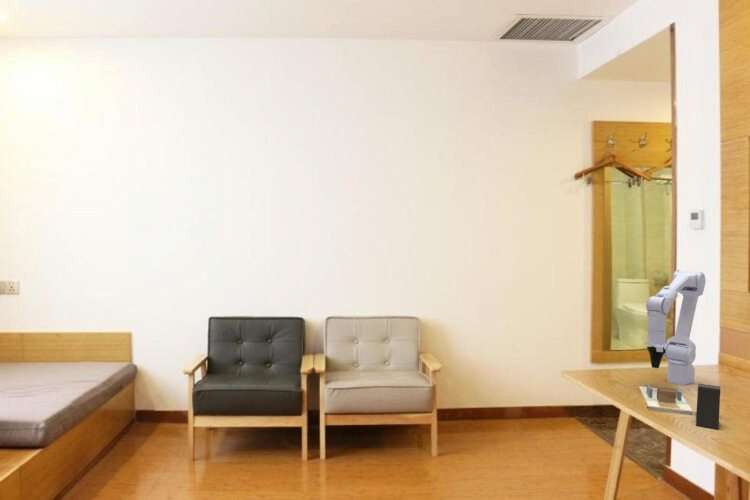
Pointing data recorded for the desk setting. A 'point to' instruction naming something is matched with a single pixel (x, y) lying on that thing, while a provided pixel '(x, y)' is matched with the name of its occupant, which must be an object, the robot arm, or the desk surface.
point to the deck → (652, 393)
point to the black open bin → (708, 406)
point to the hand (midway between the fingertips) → (655, 367)
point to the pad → (658, 401)
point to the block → (666, 394)
